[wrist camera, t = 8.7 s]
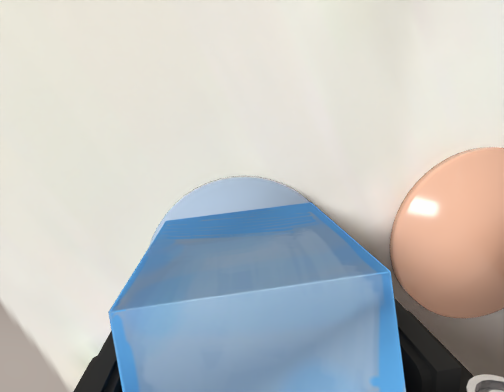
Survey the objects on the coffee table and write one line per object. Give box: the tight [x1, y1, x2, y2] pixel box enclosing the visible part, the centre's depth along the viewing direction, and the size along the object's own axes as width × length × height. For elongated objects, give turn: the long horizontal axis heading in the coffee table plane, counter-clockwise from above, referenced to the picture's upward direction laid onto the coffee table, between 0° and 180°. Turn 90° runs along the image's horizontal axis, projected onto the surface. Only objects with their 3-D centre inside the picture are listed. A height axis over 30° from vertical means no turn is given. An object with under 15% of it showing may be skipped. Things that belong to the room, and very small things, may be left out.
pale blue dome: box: [149, 176, 310, 247], centre depth 14 cm, size 9×9×1 cm
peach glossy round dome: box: [390, 147, 504, 318], centre depth 15 cm, size 9×9×1 cm
